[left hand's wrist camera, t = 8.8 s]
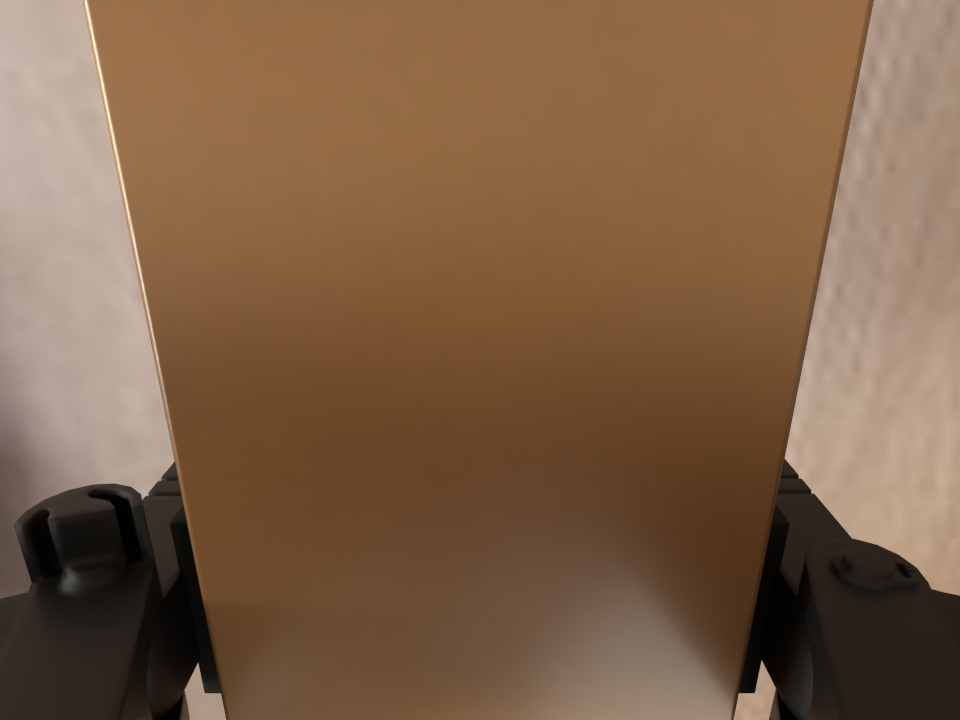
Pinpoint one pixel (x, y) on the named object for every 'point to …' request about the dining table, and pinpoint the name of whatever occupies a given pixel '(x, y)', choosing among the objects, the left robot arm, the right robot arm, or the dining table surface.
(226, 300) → the beam
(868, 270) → the dining table surface
